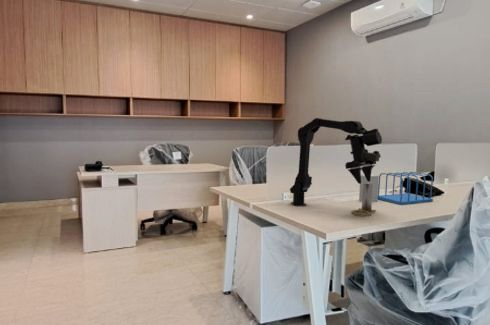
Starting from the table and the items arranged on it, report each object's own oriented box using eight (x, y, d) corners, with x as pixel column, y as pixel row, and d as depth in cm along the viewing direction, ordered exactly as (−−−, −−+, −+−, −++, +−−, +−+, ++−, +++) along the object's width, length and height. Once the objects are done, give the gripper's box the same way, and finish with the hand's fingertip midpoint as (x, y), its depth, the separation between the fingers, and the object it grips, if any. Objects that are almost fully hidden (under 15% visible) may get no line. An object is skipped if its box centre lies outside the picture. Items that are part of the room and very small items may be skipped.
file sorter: (400, 205, 183) (402, 176, 181) (375, 199, 199) (376, 172, 197) (433, 202, 194) (435, 174, 192) (406, 196, 209) (408, 170, 208)
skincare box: (369, 200, 194) (370, 173, 193) (377, 202, 189) (379, 175, 188) (358, 201, 190) (359, 174, 189) (367, 203, 185) (368, 175, 184)
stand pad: (356, 212, 164) (356, 211, 164) (358, 209, 171) (359, 208, 171) (374, 214, 161) (374, 213, 161) (376, 211, 168) (376, 210, 168)
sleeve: (359, 209, 168) (361, 183, 167) (368, 209, 169) (369, 182, 167) (364, 212, 164) (365, 184, 162) (373, 211, 164) (374, 184, 163)
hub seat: (344, 213, 163) (344, 209, 163) (366, 212, 165) (366, 209, 165) (355, 219, 153) (355, 215, 152) (378, 218, 154) (378, 214, 154)
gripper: (365, 145, 146) (372, 182, 145) (384, 144, 159) (390, 178, 158) (341, 150, 153) (348, 185, 152) (361, 148, 167) (367, 181, 166)
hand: (364, 182), depth 157 cm, fingers open, 9 cm apart
